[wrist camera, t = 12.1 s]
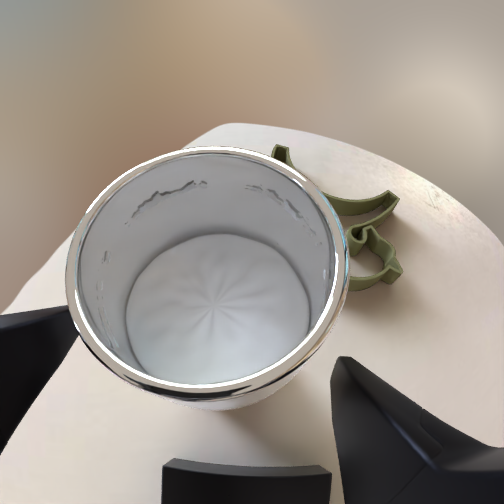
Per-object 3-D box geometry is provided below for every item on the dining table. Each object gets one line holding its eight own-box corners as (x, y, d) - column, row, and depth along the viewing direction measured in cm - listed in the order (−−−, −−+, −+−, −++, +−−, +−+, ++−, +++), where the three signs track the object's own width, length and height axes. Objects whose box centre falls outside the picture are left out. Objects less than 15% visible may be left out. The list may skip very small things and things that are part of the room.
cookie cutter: (407, 216, 26) (415, 204, 25) (382, 314, 21) (394, 304, 19) (259, 150, 30) (260, 136, 29) (195, 221, 25) (192, 206, 23)
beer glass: (289, 394, 17) (408, 352, 5) (190, 415, 16) (59, 422, 4) (264, 305, 21) (297, 129, 8) (173, 323, 20) (77, 169, 7)
